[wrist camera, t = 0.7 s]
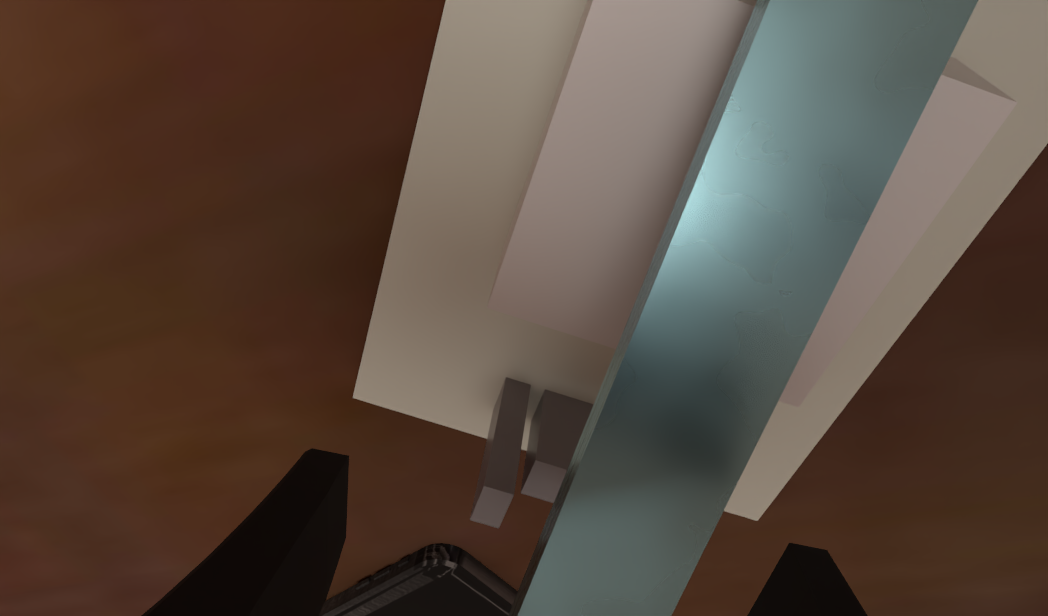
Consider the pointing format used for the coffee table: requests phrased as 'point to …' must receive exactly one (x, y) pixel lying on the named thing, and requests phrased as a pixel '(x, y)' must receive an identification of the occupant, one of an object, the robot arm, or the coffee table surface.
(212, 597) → the robot arm
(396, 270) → the socket board
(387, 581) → the phone
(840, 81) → the retention strap
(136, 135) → the coffee table surface
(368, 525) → the coffee table surface
